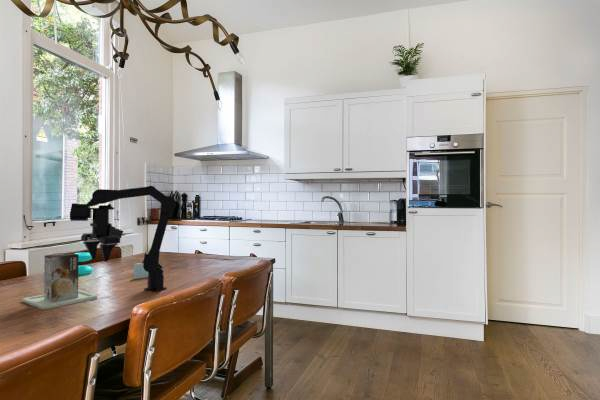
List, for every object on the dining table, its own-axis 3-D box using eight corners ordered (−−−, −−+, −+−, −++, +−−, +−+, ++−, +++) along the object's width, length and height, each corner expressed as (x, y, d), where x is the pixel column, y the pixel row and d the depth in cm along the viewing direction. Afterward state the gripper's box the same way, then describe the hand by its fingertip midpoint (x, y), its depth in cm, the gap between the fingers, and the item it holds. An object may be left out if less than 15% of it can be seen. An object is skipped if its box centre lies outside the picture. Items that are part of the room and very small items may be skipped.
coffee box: (70, 294, 140) (71, 252, 140) (78, 297, 137) (79, 254, 137) (43, 299, 133) (44, 255, 133) (50, 302, 129) (51, 256, 129)
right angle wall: (146, 272, 189) (146, 258, 189) (158, 276, 181) (158, 261, 181) (122, 276, 179) (122, 261, 179) (134, 280, 172) (135, 264, 172)
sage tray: (97, 298, 138) (97, 295, 138) (42, 309, 123) (42, 306, 123) (76, 291, 147) (76, 288, 147) (22, 301, 132) (22, 298, 132)
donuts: (90, 254, 177) (66, 255, 174) (89, 275, 177) (66, 276, 174) (95, 251, 187) (72, 252, 184) (94, 271, 187) (72, 272, 184)
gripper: (133, 221, 148) (132, 260, 148) (108, 219, 158) (107, 255, 158) (105, 222, 138) (104, 263, 138) (80, 220, 149) (80, 258, 149)
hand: (99, 260), depth 146 cm, fingers open, 9 cm apart
